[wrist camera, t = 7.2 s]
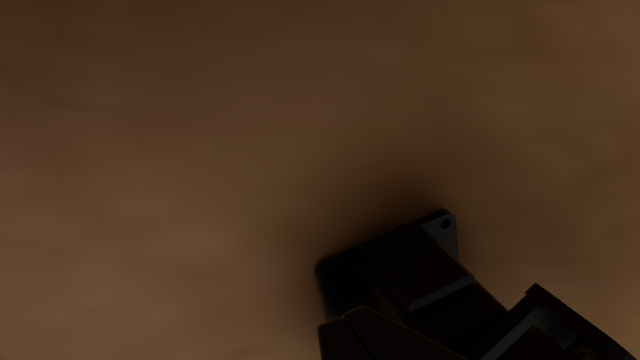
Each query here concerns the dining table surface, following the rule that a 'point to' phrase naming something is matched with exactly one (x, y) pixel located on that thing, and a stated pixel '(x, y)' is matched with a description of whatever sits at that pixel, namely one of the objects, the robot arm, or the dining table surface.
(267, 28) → the dining table surface
